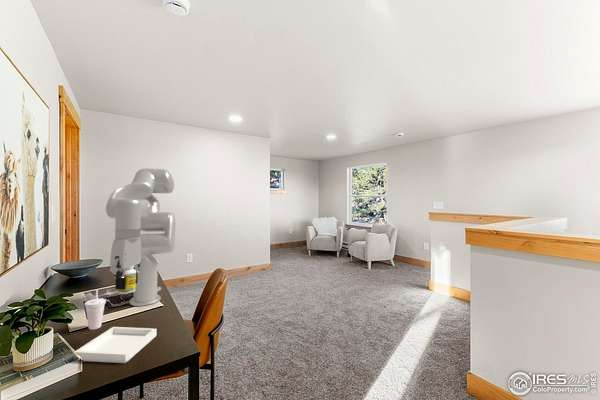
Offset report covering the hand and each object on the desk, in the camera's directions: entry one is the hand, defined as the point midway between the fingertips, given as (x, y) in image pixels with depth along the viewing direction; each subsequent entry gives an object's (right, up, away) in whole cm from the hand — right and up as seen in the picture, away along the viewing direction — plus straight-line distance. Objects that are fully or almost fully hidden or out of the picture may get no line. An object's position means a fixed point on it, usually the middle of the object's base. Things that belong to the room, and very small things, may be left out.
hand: (126, 286), depth 94 cm
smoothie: (-17, -18, +7) cm, 25 cm away
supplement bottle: (0, -2, 0) cm, 2 cm away
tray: (+1, -18, -6) cm, 19 cm away
